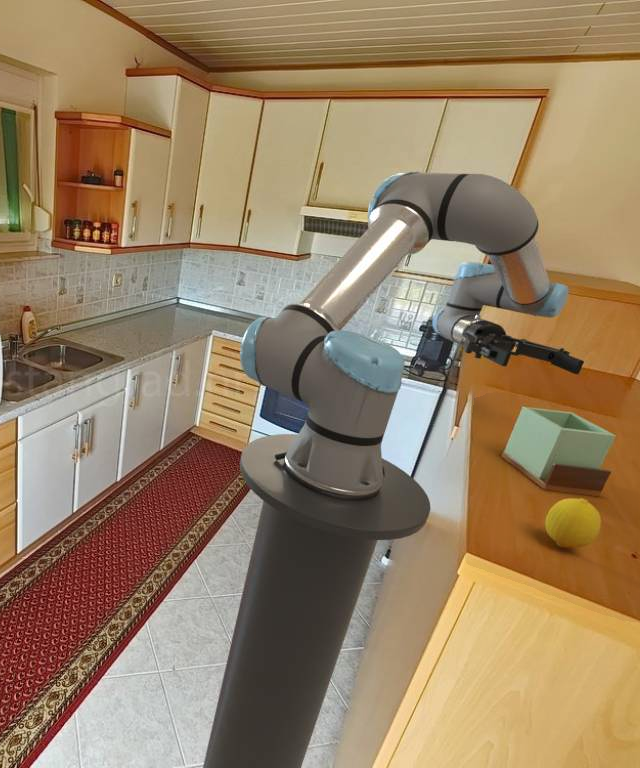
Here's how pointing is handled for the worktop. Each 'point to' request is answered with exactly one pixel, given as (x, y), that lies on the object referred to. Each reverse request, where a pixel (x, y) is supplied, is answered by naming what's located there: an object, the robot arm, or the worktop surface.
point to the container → (556, 441)
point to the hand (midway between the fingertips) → (543, 363)
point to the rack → (568, 478)
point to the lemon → (573, 523)
